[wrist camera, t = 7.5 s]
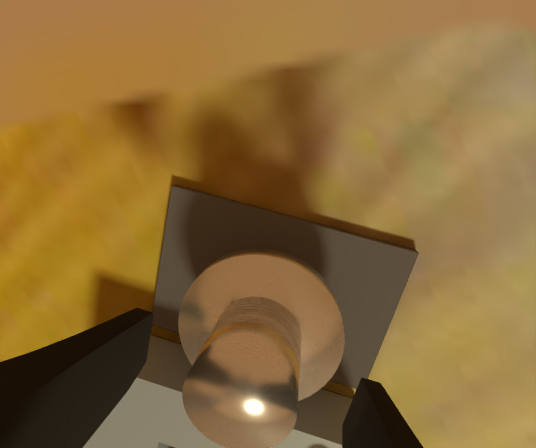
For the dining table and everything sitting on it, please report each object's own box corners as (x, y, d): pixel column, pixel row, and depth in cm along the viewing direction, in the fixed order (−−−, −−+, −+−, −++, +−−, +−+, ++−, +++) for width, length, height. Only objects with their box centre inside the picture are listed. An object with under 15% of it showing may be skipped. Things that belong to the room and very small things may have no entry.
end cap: (192, 337, 17) (120, 451, 10) (216, 218, 15) (145, 270, 9) (316, 376, 16) (317, 520, 10) (357, 257, 14) (391, 344, 8)
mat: (154, 320, 17) (150, 324, 17) (175, 185, 15) (171, 185, 15) (361, 385, 16) (362, 390, 16) (415, 250, 14) (418, 253, 14)
